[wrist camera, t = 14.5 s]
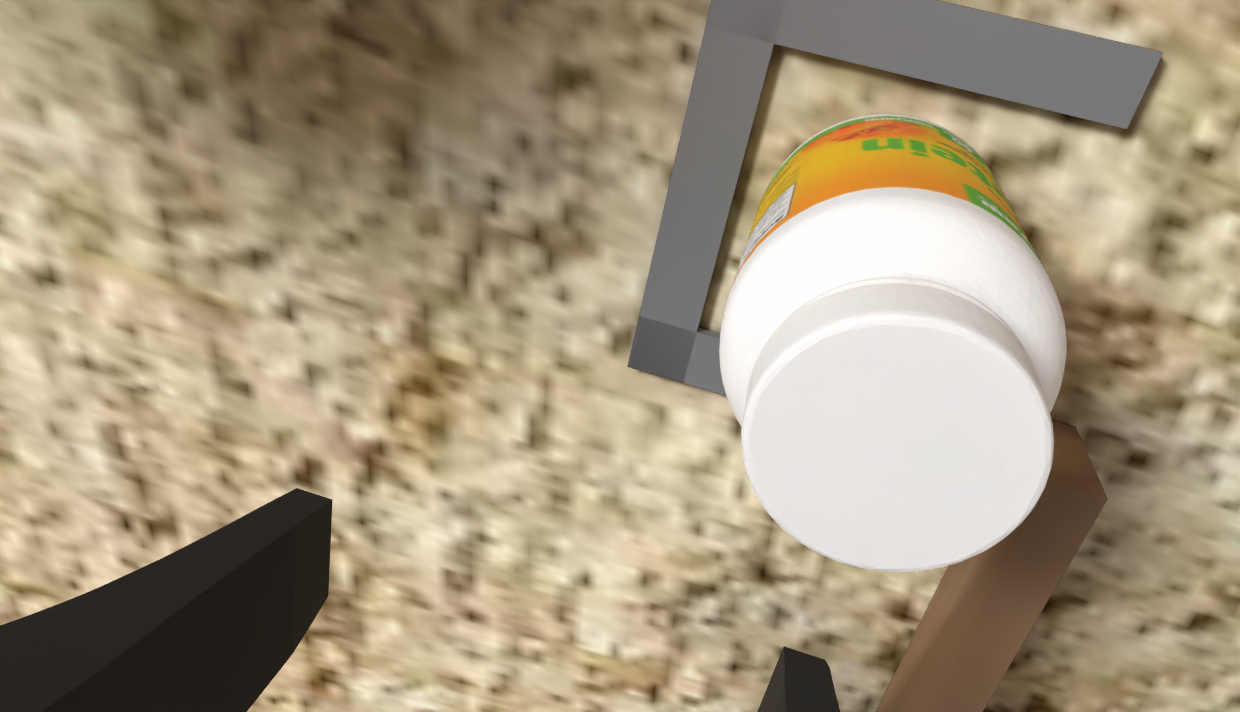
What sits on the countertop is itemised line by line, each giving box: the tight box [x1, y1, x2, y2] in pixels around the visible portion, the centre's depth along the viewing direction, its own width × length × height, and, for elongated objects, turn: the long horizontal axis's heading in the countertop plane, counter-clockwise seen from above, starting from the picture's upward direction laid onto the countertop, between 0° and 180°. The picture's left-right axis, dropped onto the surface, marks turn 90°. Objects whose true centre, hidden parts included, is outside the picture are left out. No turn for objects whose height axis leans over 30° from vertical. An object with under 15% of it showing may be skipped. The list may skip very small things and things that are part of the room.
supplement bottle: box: [719, 114, 1067, 572], centre depth 16 cm, size 5×5×10 cm
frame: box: [628, 0, 1163, 396], centre depth 20 cm, size 9×10×1 cm
